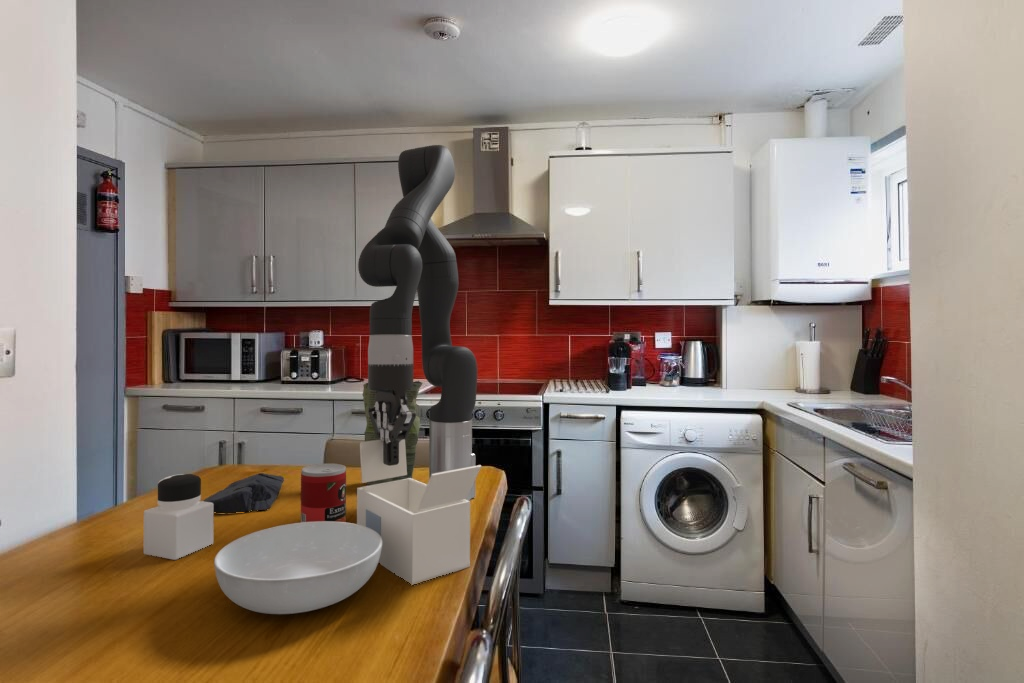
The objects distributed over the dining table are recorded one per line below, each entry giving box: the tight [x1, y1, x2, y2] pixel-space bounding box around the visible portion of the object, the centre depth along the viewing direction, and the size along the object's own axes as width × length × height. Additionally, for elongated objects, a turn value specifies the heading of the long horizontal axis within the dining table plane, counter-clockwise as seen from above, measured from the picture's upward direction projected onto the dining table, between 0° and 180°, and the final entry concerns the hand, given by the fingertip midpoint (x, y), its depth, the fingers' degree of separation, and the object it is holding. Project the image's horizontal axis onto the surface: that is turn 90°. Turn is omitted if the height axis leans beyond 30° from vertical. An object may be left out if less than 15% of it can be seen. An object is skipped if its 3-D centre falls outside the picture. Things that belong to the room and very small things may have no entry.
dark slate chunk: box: [202, 472, 285, 513], centre depth 116 cm, size 15×22×5 cm
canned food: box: [300, 463, 347, 523], centre depth 98 cm, size 8×8×11 cm
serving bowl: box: [213, 521, 382, 615], centre depth 72 cm, size 21×21×7 cm
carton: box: [356, 477, 471, 586], centre depth 85 cm, size 10×18×10 cm, turn 41°
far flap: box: [359, 439, 407, 484], centre depth 92 cm, size 8×7×1 cm
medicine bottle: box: [143, 473, 215, 561], centre depth 88 cm, size 7×7×12 cm
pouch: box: [362, 380, 424, 486], centre depth 129 cm, size 11×12×25 cm
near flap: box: [417, 464, 482, 510], centre depth 77 cm, size 8×7×1 cm
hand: (391, 464), depth 91 cm, fingers closed
